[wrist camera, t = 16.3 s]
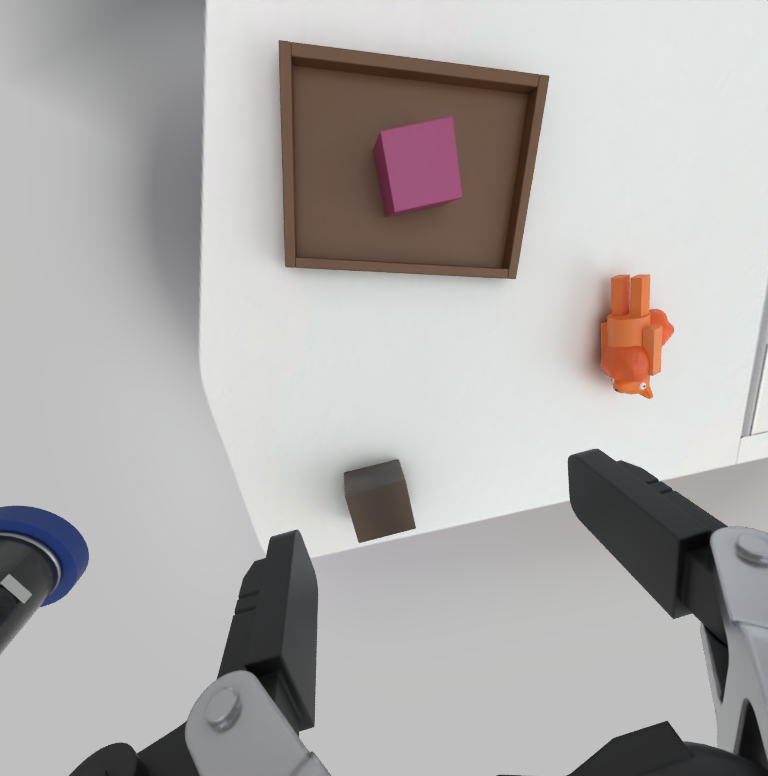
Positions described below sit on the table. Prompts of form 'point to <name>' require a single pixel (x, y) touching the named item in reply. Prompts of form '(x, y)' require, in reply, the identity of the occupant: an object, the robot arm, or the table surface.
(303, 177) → the tray
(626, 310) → the orange toy animal
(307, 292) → the table surface
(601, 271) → the table surface
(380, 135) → the mulberry block
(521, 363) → the table surface
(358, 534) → the dark brown block
